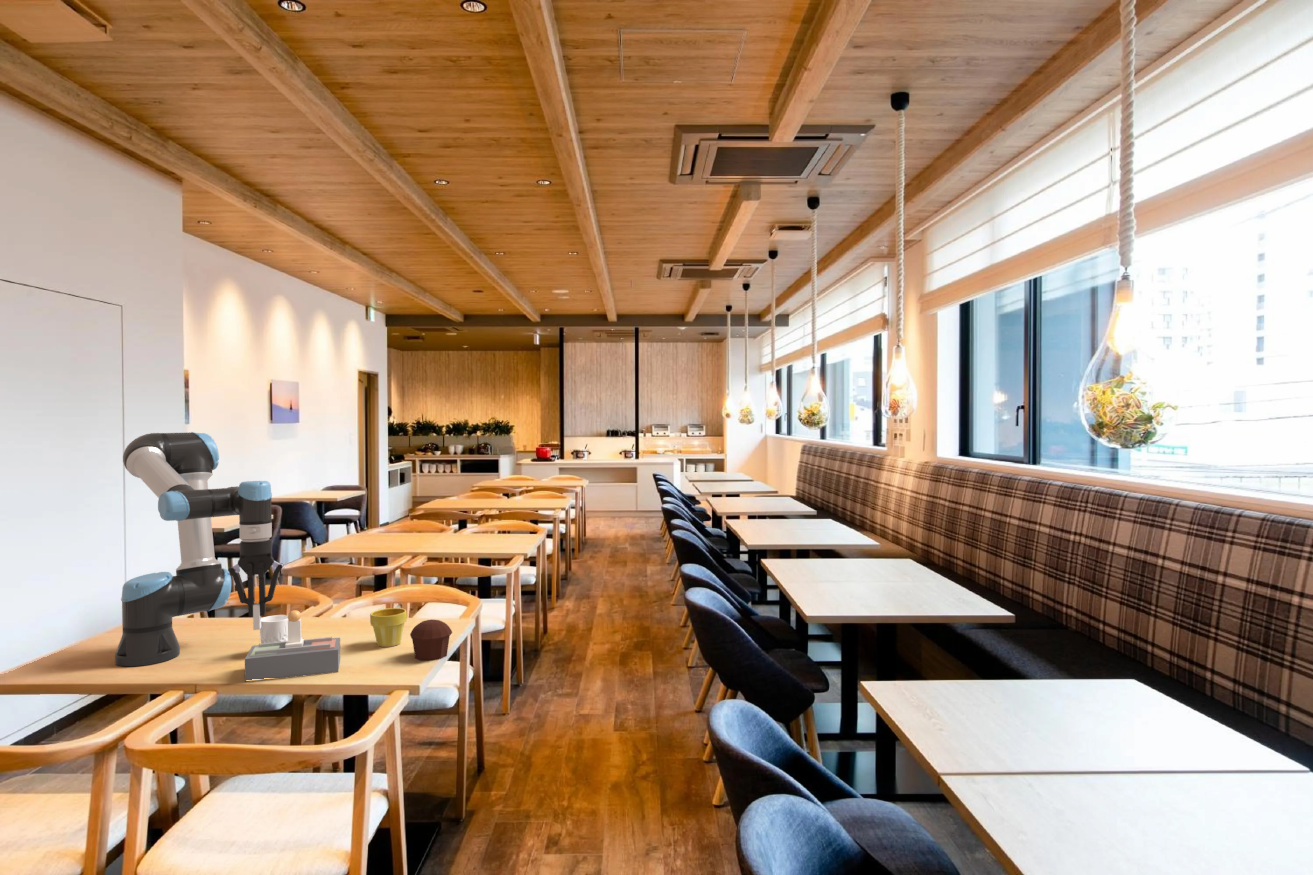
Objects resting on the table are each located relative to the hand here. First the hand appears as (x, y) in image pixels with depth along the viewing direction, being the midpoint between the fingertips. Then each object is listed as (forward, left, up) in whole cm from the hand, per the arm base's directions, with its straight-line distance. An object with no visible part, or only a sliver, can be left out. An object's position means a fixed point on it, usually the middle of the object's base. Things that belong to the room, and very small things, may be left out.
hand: (257, 628), depth 195 cm
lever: (0, +9, -6) cm, 11 cm away
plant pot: (-16, +33, -12) cm, 39 cm away
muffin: (0, +44, -12) cm, 46 cm away
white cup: (-19, +2, -12) cm, 23 cm away
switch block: (0, +9, -12) cm, 15 cm away
